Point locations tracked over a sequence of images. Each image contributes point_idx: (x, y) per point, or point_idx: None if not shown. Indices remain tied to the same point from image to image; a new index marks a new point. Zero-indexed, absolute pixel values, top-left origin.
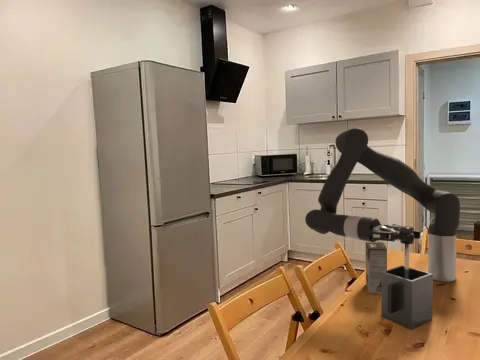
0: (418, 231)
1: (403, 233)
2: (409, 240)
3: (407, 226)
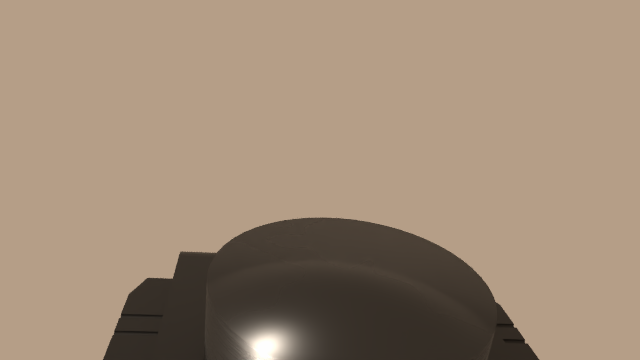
0: (207, 254)
1: (508, 356)
2: None
3: (228, 296)
